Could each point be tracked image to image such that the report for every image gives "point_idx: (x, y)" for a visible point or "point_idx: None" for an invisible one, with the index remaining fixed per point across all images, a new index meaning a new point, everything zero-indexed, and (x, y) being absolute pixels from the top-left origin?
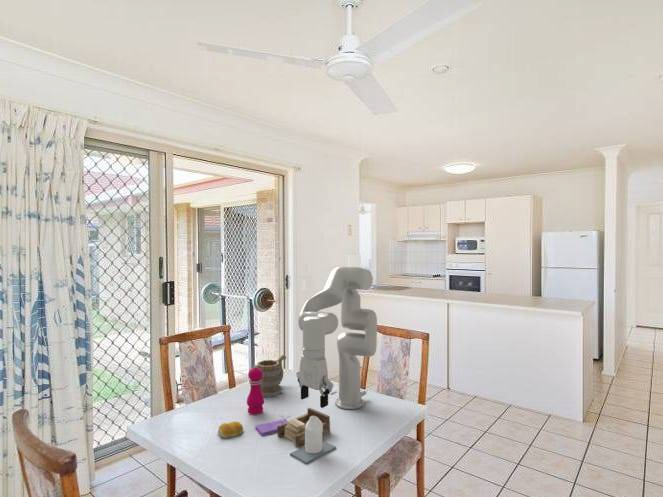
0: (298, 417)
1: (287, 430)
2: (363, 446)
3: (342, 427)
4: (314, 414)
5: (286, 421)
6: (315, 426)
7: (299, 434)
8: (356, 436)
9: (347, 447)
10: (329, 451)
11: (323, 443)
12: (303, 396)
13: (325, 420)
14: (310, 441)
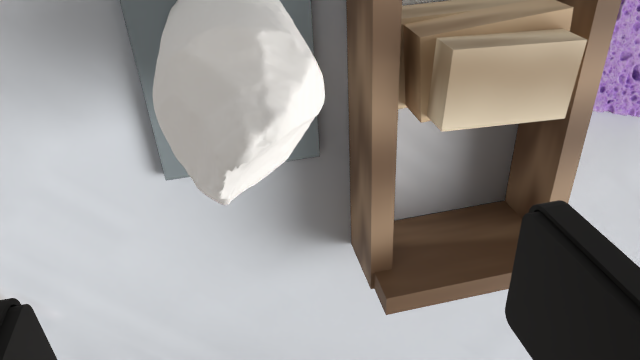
0: (573, 166)
1: (529, 7)
2: (88, 302)
3: (341, 315)
4: (500, 259)
5: (633, 105)
6: (180, 105)
7: (385, 21)
8: (211, 324)
9: (133, 231)
10: (151, 118)
11: None
12: (546, 259)
13: (394, 274)
14: (192, 4)
